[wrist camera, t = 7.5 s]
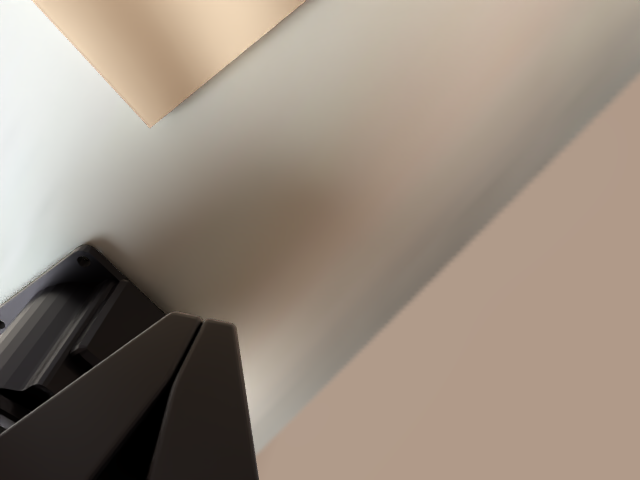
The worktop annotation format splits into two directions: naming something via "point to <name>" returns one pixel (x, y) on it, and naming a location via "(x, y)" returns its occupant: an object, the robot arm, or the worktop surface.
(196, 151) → the worktop surface
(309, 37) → the worktop surface
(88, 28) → the beige rectangular board
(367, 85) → the worktop surface
